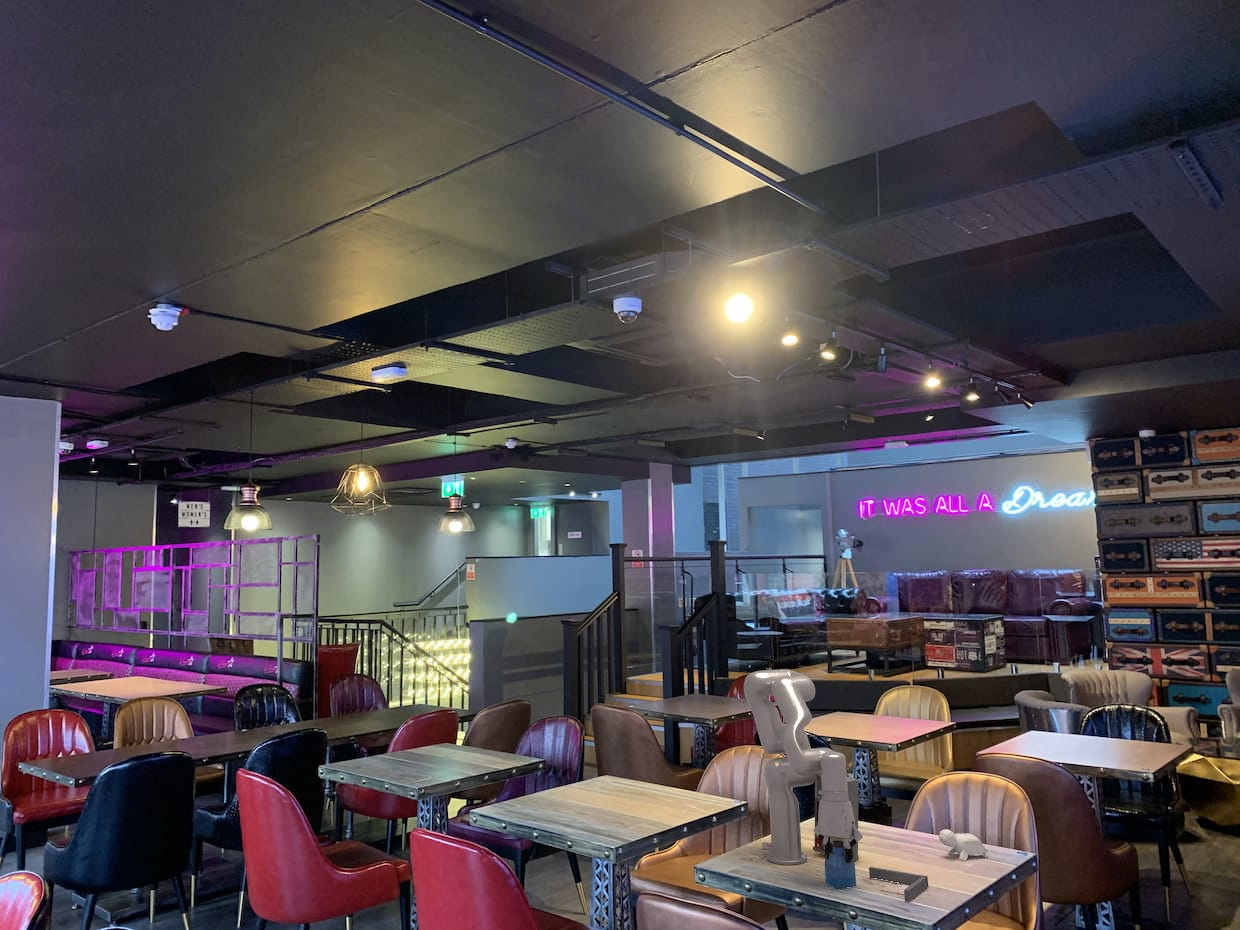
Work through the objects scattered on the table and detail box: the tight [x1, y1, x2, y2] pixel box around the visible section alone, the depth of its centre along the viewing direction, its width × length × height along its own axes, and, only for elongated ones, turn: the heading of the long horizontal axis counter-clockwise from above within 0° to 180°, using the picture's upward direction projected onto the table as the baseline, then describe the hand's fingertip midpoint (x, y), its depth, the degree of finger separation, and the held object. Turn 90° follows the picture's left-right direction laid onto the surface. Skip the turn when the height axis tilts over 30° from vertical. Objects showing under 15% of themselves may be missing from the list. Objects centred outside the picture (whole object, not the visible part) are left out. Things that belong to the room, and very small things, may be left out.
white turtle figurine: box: [938, 828, 988, 862], centre depth 280 cm, size 9×8×15 cm
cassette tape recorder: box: [812, 774, 860, 862], centre depth 284 cm, size 14×6×25 cm, turn 37°
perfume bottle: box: [824, 841, 857, 890], centre depth 257 cm, size 6×6×12 cm
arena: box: [868, 866, 929, 903], centre depth 252 cm, size 17×15×3 cm
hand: (839, 859), depth 257 cm, fingers closed on perfume bottle, 5 cm apart
